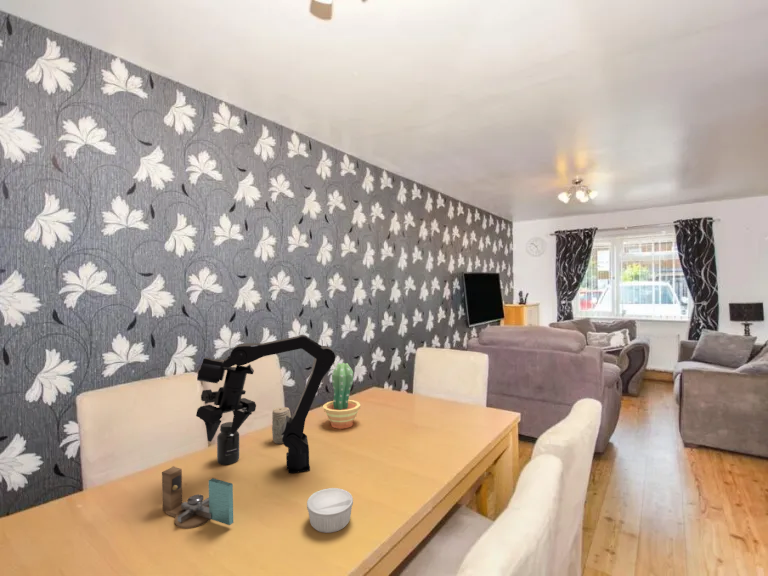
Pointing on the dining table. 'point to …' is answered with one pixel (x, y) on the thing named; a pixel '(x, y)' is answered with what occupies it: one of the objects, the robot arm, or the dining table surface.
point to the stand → (177, 498)
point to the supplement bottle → (227, 445)
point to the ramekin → (330, 509)
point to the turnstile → (211, 503)
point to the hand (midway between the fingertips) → (221, 437)
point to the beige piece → (279, 423)
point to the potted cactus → (342, 398)
